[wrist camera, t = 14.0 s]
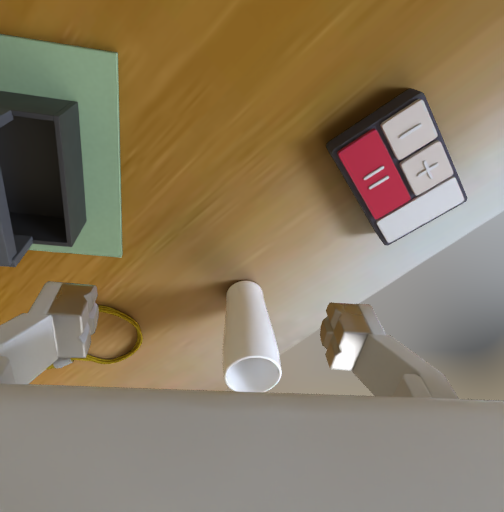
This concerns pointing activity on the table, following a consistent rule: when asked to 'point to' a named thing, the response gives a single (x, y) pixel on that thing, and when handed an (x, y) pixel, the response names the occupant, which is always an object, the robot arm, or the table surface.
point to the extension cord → (65, 361)
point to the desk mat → (91, 125)
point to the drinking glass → (249, 341)
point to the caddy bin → (39, 174)
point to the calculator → (398, 167)
